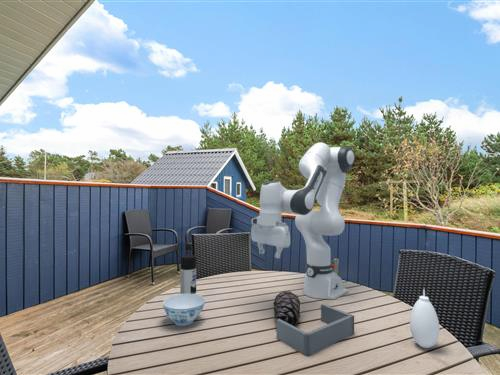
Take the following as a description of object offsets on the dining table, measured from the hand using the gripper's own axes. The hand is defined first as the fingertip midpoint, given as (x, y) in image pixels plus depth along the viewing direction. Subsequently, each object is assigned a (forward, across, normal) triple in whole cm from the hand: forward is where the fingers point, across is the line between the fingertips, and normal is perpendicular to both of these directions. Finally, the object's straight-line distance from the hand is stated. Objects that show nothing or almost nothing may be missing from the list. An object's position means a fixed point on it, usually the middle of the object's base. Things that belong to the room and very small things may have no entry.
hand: (269, 255), depth 116 cm
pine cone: (+23, -11, -1) cm, 25 cm away
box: (+22, -23, -1) cm, 32 cm away
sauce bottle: (+22, -48, -23) cm, 58 cm away
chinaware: (+24, +12, +30) cm, 40 cm away
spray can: (+23, +28, +21) cm, 42 cm away
